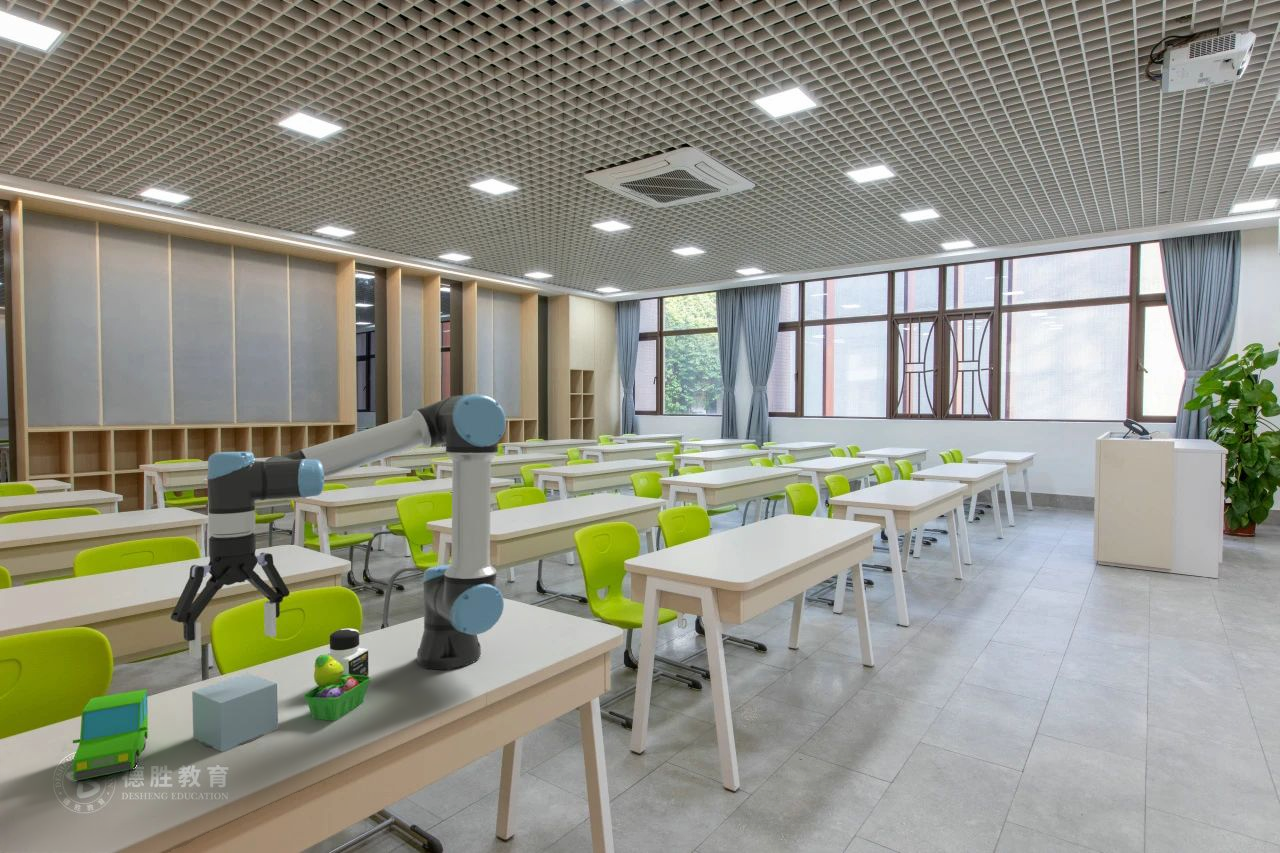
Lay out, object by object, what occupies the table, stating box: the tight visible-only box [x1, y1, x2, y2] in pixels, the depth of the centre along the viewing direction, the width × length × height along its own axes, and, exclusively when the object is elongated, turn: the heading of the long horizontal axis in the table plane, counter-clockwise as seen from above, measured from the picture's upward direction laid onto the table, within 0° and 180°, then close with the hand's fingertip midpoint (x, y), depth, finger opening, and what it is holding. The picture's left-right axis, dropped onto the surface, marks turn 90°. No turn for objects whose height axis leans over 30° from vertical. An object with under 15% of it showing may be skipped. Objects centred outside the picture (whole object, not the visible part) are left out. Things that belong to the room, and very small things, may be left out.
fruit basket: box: [303, 653, 371, 722], centre depth 136 cm, size 11×9×11 cm
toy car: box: [72, 688, 149, 782], centre depth 115 cm, size 10×13×10 cm
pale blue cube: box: [191, 672, 279, 753], centre depth 126 cm, size 10×10×9 cm
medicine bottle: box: [326, 628, 370, 677], centre depth 149 cm, size 7×7×12 cm
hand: (234, 645), depth 126 cm, fingers open, 13 cm apart
